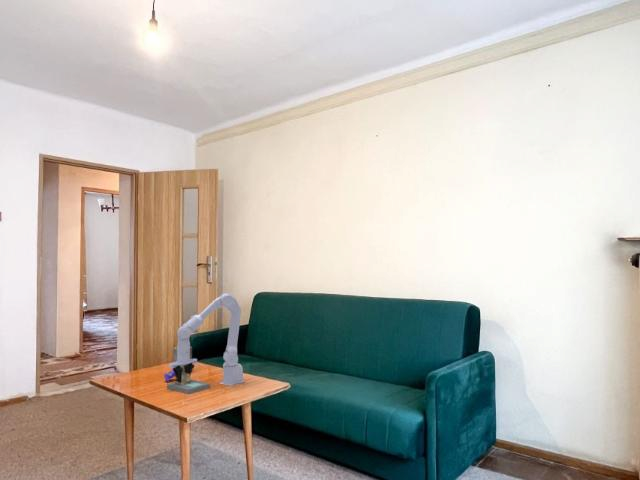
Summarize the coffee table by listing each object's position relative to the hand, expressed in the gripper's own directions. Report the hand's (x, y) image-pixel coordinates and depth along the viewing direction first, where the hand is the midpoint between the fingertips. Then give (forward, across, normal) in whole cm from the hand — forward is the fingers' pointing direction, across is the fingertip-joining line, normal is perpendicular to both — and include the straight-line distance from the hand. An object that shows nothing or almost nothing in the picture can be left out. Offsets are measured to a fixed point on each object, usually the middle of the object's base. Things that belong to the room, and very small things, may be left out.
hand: (183, 381), depth 202 cm
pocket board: (+3, 0, +4) cm, 5 cm away
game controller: (+4, -5, -15) cm, 16 cm away
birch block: (+3, 0, 0) cm, 3 cm away
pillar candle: (+3, -19, -26) cm, 32 cm away
